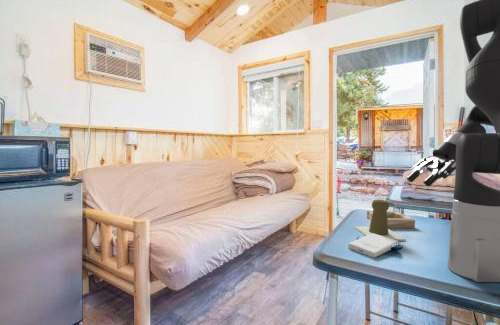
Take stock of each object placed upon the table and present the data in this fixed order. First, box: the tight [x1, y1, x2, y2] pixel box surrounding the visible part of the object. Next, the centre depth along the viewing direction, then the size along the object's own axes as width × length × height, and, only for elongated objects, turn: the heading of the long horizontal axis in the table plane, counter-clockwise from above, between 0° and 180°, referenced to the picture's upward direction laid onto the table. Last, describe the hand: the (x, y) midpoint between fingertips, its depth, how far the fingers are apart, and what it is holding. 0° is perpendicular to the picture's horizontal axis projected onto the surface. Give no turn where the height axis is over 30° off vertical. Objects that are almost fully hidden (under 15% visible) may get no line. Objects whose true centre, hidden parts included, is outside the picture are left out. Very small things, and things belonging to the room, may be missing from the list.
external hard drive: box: [347, 233, 400, 258], centre depth 76 cm, size 2×8×12 cm
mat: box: [354, 225, 407, 242], centre depth 89 cm, size 12×11×1 cm
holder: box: [366, 210, 416, 229], centre depth 102 cm, size 12×12×3 cm
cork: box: [369, 199, 390, 235], centre depth 88 cm, size 6×6×11 cm
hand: (416, 182), depth 88 cm, fingers open, 8 cm apart
